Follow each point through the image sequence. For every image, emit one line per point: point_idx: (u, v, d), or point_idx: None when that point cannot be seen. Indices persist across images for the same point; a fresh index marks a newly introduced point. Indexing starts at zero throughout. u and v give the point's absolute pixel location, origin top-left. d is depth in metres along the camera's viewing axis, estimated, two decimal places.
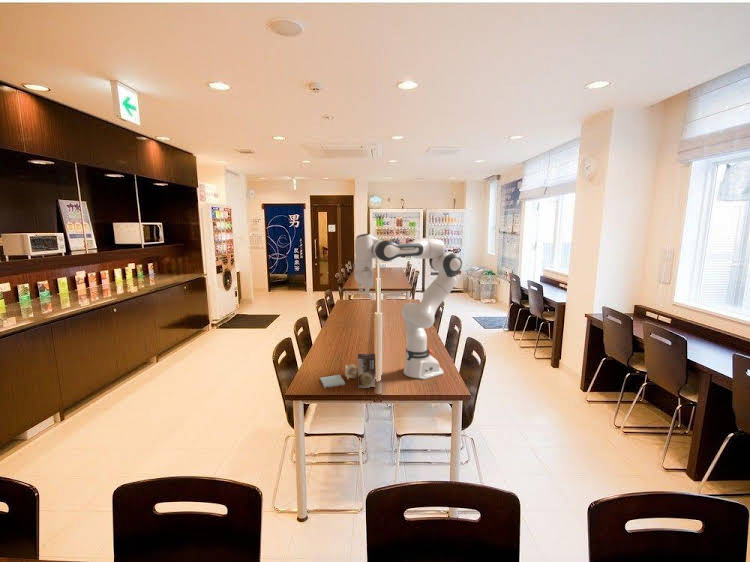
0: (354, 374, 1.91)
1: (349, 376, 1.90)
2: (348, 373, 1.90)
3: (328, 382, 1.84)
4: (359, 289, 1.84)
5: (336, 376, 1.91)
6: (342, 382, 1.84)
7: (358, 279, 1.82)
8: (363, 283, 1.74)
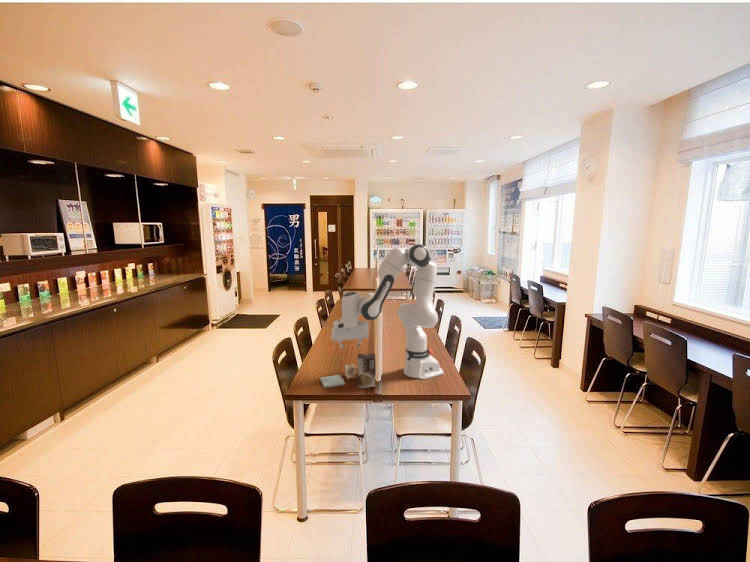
0: (354, 374, 1.91)
1: (349, 376, 1.90)
2: (348, 373, 1.90)
3: (328, 382, 1.84)
4: (342, 346, 1.88)
5: (336, 376, 1.91)
6: (342, 382, 1.84)
7: (344, 337, 1.87)
8: (359, 336, 1.90)
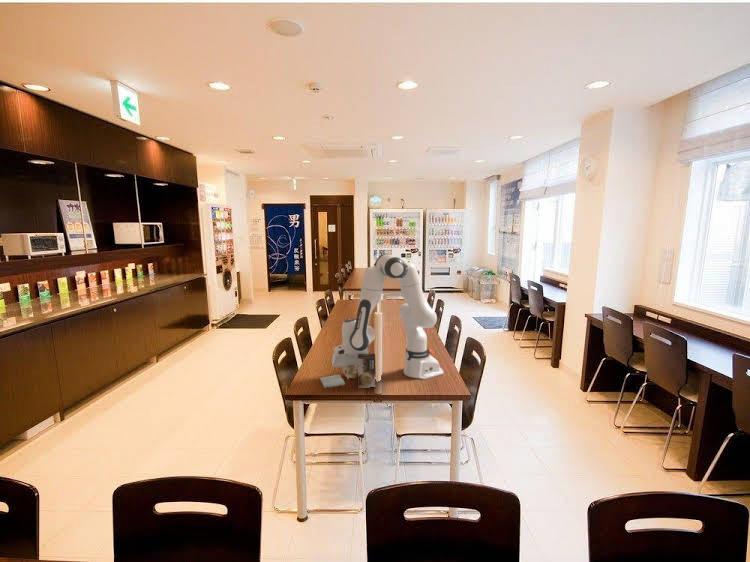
0: (354, 374, 1.91)
1: (349, 376, 1.90)
2: (348, 373, 1.90)
3: (328, 382, 1.84)
4: (345, 371, 1.91)
5: (336, 376, 1.91)
6: (342, 382, 1.84)
7: (345, 363, 1.89)
8: None
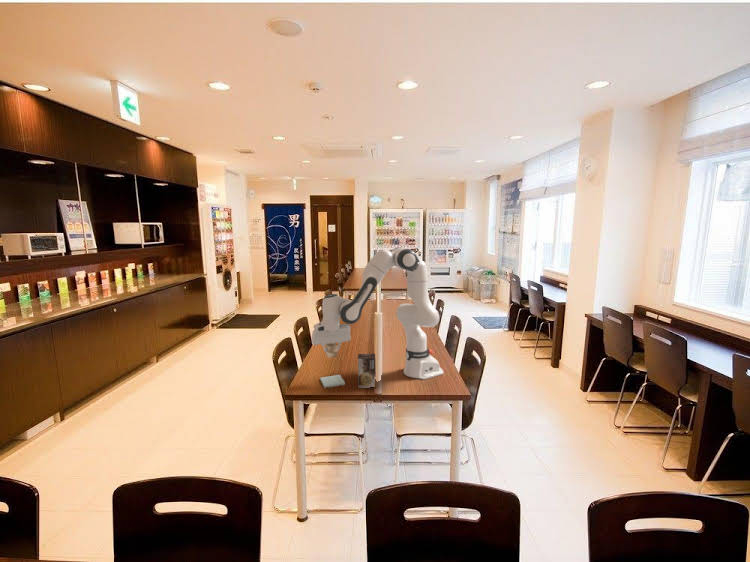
0: (335, 352, 1.82)
1: (330, 354, 1.81)
2: (329, 351, 1.81)
3: (328, 382, 1.84)
4: (326, 350, 1.82)
5: (336, 376, 1.91)
6: (342, 382, 1.84)
7: (325, 340, 1.80)
8: (341, 340, 1.83)
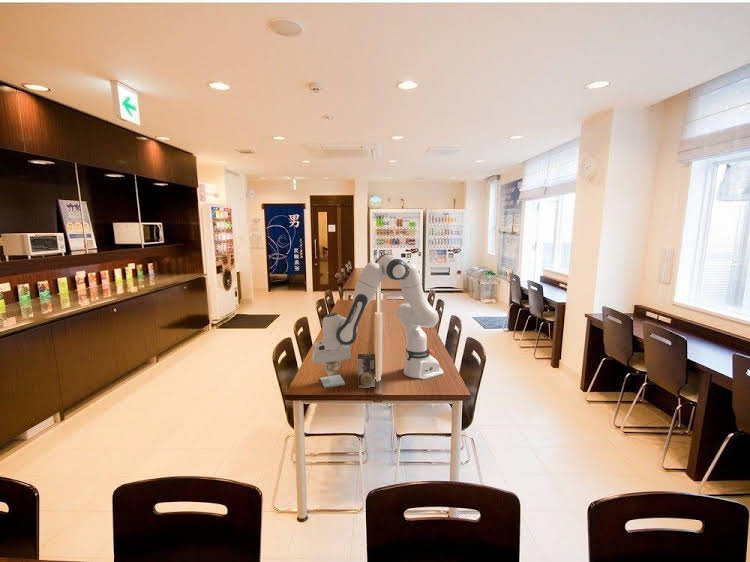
0: (335, 371, 1.83)
1: (330, 373, 1.82)
2: (329, 370, 1.82)
3: (328, 382, 1.84)
4: (326, 368, 1.83)
5: (336, 376, 1.91)
6: (342, 382, 1.84)
7: (326, 359, 1.81)
8: (341, 358, 1.84)
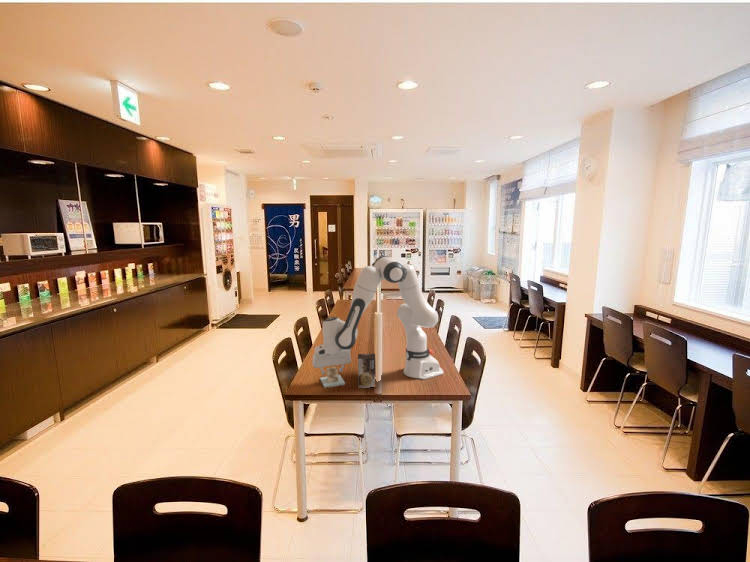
0: (336, 377, 1.84)
1: (330, 379, 1.83)
2: (329, 376, 1.83)
3: (328, 382, 1.84)
4: (323, 373, 1.83)
5: None
6: (342, 382, 1.84)
7: (326, 363, 1.82)
8: (341, 362, 1.85)
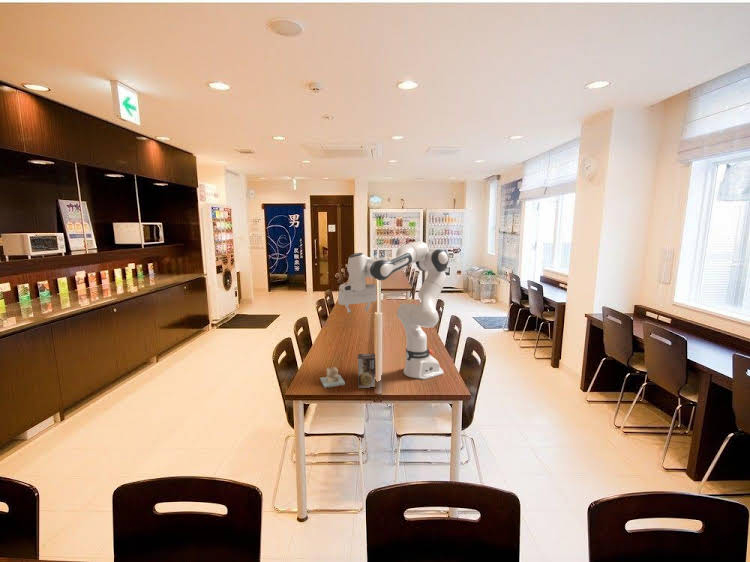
0: (336, 377, 1.84)
1: (330, 379, 1.83)
2: (329, 376, 1.83)
3: (328, 382, 1.84)
4: (349, 310, 1.79)
5: None
6: (342, 382, 1.84)
7: (352, 300, 1.77)
8: (367, 300, 1.80)
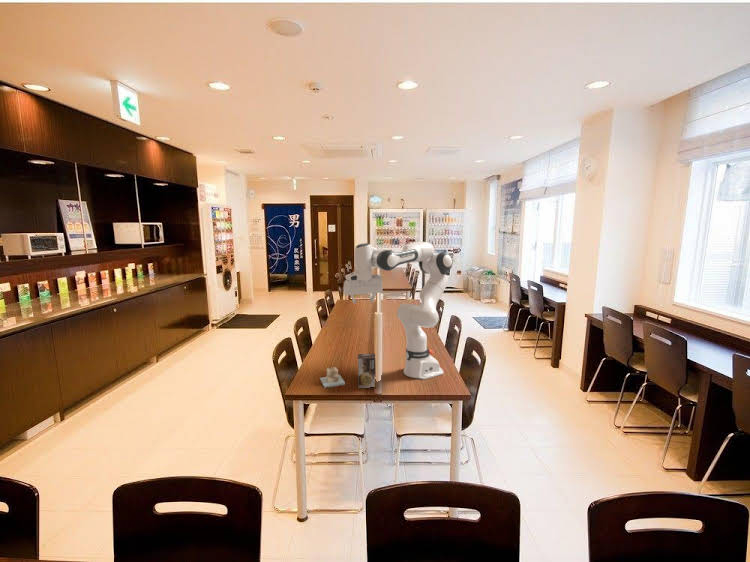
0: (336, 377, 1.84)
1: (330, 379, 1.83)
2: (329, 376, 1.83)
3: (328, 382, 1.84)
4: (355, 301, 1.78)
5: None
6: (342, 382, 1.84)
7: (357, 290, 1.77)
8: (373, 291, 1.80)
